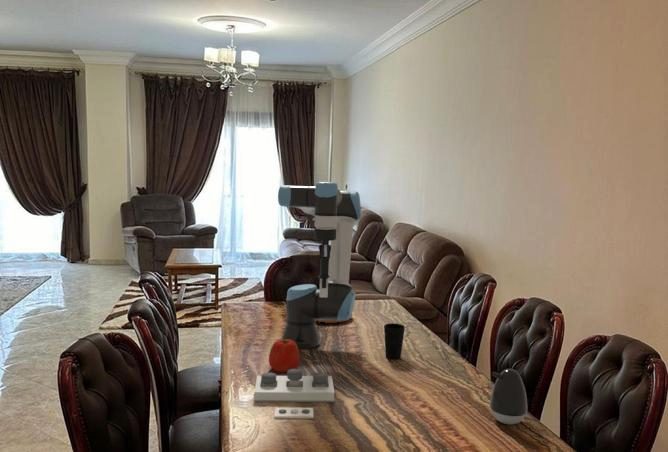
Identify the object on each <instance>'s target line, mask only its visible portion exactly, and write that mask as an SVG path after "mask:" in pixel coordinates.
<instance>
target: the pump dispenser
mask: <svg viewBox="0 0 668 452" xmlns="http://www.w3.org/2000/svg"><path fill="white" fill-rule="evenodd" d="M491 375H492V377H495V378H497V379H496V381H495V383H494V386H493V388H492V392H491V397H490V400H489V401H490V402H489V407H490V410H491V414H492V416H493V417H494V419H496V421H498V422H499V423H501V424H505V425H517V424H520V423H521V422H522V421H523V419H524V418H525V416H526V414H527V413H528V399H527V398H528V397H527V393H526V387H525V384H524V382H523V379H522V377H521V375H520V373H519V372H518V371H517V370H515V369H512V368H505V369H504V370H503V371H501V372H500V373H498V372H496V371H493V372H491Z"/></svg>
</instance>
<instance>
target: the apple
mask: <svg viewBox="0 0 668 452" xmlns="http://www.w3.org/2000/svg"><path fill="white" fill-rule="evenodd" d="M300 359H301V355H300V349H298V347H297V345H296V343H295V342H294V341H292V340H290V339H284V340H282V339H278V340H276V341H275V342H273V344H272V346H271V349H270V350H269V353H268V362H269V366H270V368H271V369H273V370H274V372H277V373H287V372H288V370H290V369H299V366H300Z"/></svg>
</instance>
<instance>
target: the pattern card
mask: <svg viewBox="0 0 668 452" xmlns="http://www.w3.org/2000/svg"><path fill="white" fill-rule="evenodd" d="M314 416H315V415H314V407H274V419H315V417H314Z"/></svg>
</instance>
